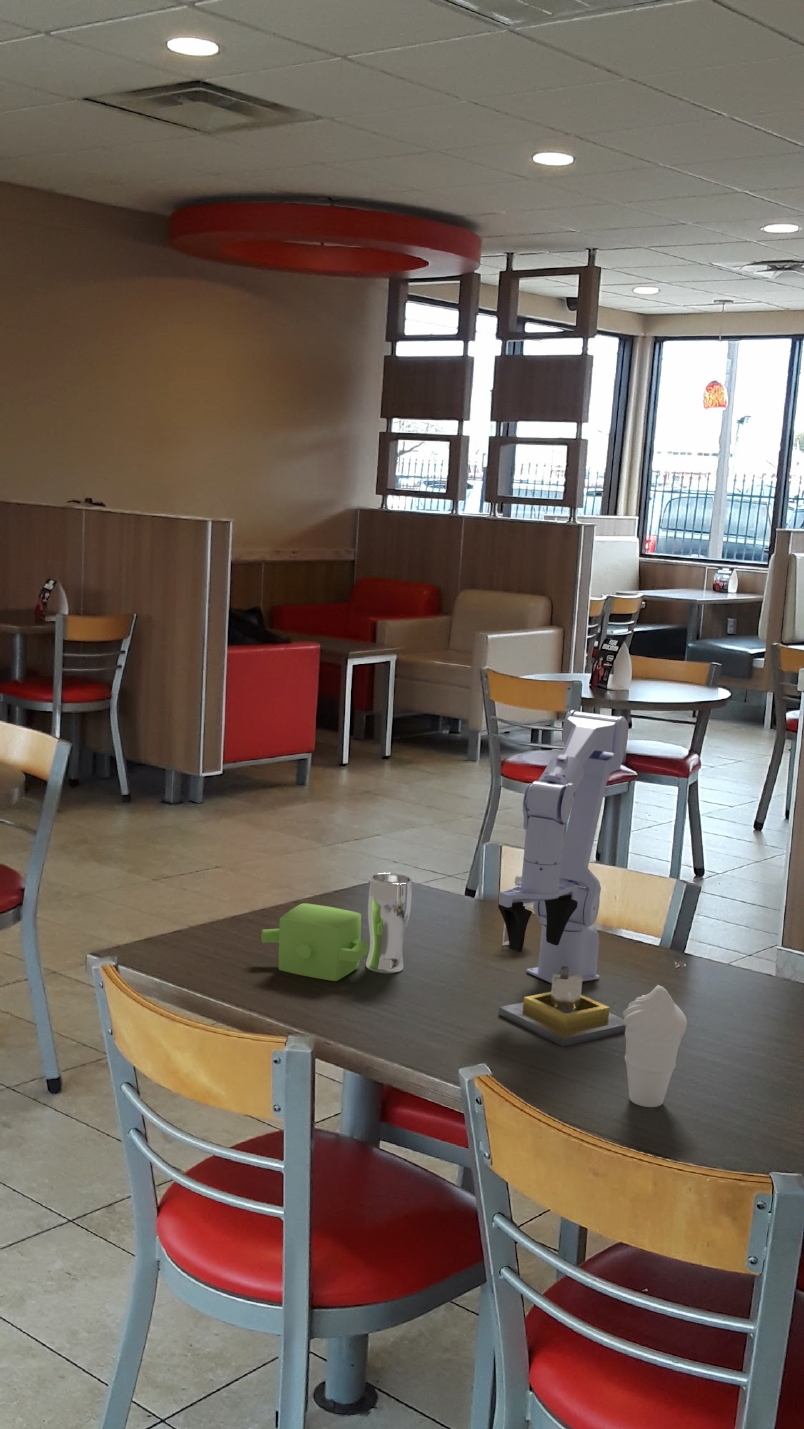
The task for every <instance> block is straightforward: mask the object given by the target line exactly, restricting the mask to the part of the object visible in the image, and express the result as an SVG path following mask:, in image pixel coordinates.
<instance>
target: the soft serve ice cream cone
mask: <svg viewBox="0 0 804 1429" xmlns="http://www.w3.org/2000/svg"><path fill="white" fill-rule="evenodd" d="M622 1016H623V1017H624V1018H623V1019H624V1020H623V1023H624V1024H625V1026H626V1029H625V1032H624V1036H625V1054H624V1061H625V1064H626V1073H627V1084H628V1085H627V1086H628V1095H629V1096H628V1097H629V1100H630V1102H632V1104H635V1105H638V1106H640V1107H644V1108H657V1107H659V1106H661V1105H663V1104H664V1100H665V1097H666V1094H667V1091H668V1087H669V1084H670V1081H671V1078H672V1074H673V1072H674V1070H675V1068H677V1064H676V1061H677V1058H678V1057H677V1056H678V1052H679V1046H680V1045H681V1043H682V1038H683V1036H685V1035H684V1034H685V1033H686V1030H687V1027H688V1019H687V1017H686V1015H685V1013H684V1012H683V1011H682V1009H681V1008H680V1007H679V1006H678V1005H677V1003H675V1002H674V1000H673V998H672V996H671V995H670V994H669V992H668V990H667V989H666V988H665V987H664V986H662V985H659V984H657V985H656V986H655V987H654V988H653V989H652V990H651V991H650V992H649V993H647V994H642V995H641V996H637V997H636V998H635V1000H633V1001H631V1002H629V1004H628V1005H627V1008H626V1009H625V1010H623V1012H622Z"/></svg>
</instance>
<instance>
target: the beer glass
mask: <svg viewBox="0 0 804 1429" xmlns="http://www.w3.org/2000/svg"><path fill="white" fill-rule="evenodd" d="M370 878H371V879H370V884H369V889H368V890H369V891H368V899H367V920H368V931H369V932H368V933H369V949H368V955H367V959H366V962H365V966H366V968H367V969H368V970H370V971H371V972H375V973H378V974H396V972H397V973H399V972H401V971H402V970H404V959H403V945H404V940H405V935H406V931H407V928H408V924H409V920H410V915H411V909H412V907H411V906H412V881H413V880H412V878H411V877H410V876H408V875H405V874H401V873H393V872H379V873H375V874H372V875H371V876H370Z"/></svg>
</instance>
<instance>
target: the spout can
mask: <svg viewBox="0 0 804 1429" xmlns="http://www.w3.org/2000/svg"><path fill="white" fill-rule="evenodd" d="M582 979H583V977H582V976H581V975H579V974H577V973H573V972H569V967H565V966H562V967H561V971H559V972H555V973H553V980H552V983H551V989H550V990H551V991H550V992H551V1001H550V1006H551V1007H553V1008H555V1009H557V1010H559V1011H561V1012H564V1013H571V1012H576V1011H579V1009H580V999H581V995H582V988H583V982H582Z"/></svg>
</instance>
